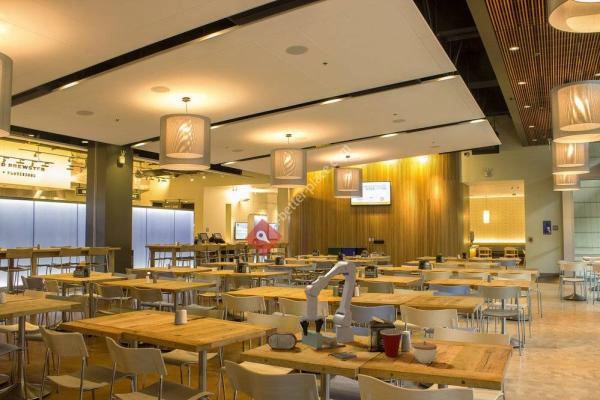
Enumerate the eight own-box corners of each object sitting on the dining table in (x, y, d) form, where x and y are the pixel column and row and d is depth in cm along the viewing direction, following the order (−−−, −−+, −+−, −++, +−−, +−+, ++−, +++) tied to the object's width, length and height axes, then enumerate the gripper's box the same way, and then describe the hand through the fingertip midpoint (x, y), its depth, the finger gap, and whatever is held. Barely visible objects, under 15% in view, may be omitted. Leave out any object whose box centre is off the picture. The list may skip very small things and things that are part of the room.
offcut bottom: (323, 341, 277) (323, 337, 277) (337, 345, 267) (337, 341, 267) (316, 342, 275) (316, 338, 275) (329, 346, 265) (329, 342, 265)
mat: (335, 350, 260) (335, 348, 260) (356, 356, 245) (356, 355, 245) (320, 352, 255) (320, 350, 255) (341, 359, 240) (341, 357, 241)
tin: (297, 348, 263) (297, 332, 263) (296, 350, 259) (296, 333, 260) (268, 348, 264) (268, 331, 265) (267, 349, 261) (267, 332, 262)
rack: (320, 340, 282) (320, 337, 283) (345, 348, 264) (345, 344, 264) (292, 344, 273) (292, 340, 273) (317, 352, 254) (317, 348, 254)
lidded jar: (411, 359, 241) (410, 338, 242) (434, 359, 241) (433, 339, 242) (415, 364, 231) (415, 343, 231) (439, 365, 230) (439, 343, 231)
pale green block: (306, 344, 272) (307, 329, 273) (322, 349, 261) (322, 333, 261) (301, 345, 271) (302, 330, 271) (317, 350, 259) (317, 334, 260)
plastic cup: (375, 356, 247) (375, 330, 248) (388, 352, 255) (387, 328, 256) (394, 359, 240) (394, 333, 241) (407, 356, 248) (406, 330, 249)
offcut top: (324, 337, 276) (324, 334, 276) (336, 340, 268) (336, 336, 268) (318, 338, 273) (318, 334, 274) (331, 341, 266) (331, 337, 266)
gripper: (319, 306, 274) (318, 332, 273) (296, 308, 267) (295, 334, 266) (326, 308, 269) (326, 334, 268) (303, 309, 261) (303, 337, 260)
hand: (311, 334), depth 266 cm, fingers open, 7 cm apart
